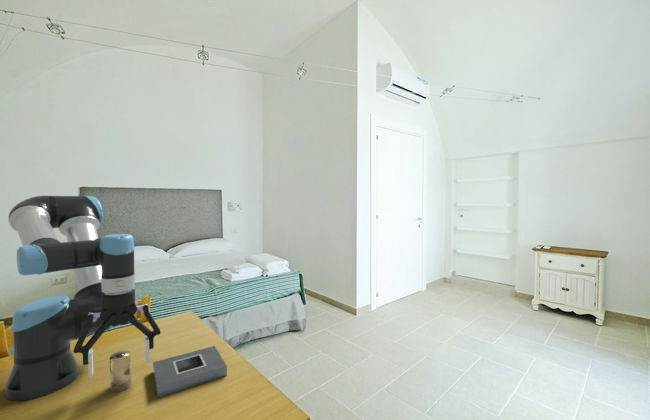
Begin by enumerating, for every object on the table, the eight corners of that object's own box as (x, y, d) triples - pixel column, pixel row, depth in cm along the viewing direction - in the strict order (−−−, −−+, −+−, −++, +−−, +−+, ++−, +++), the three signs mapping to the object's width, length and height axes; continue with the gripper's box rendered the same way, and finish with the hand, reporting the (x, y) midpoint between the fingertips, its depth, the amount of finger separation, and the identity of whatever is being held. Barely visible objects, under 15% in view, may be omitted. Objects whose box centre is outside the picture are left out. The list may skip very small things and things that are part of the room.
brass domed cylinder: (110, 385, 84) (109, 353, 84) (131, 379, 87) (130, 348, 87) (110, 394, 80) (109, 361, 80) (131, 388, 83) (130, 355, 83)
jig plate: (153, 371, 91) (152, 361, 90) (214, 354, 101) (214, 345, 101) (157, 397, 79) (157, 386, 79) (226, 375, 89) (226, 365, 89)
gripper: (57, 303, 72) (60, 390, 73) (170, 287, 86) (171, 360, 87) (62, 295, 79) (64, 374, 80) (167, 280, 92) (168, 349, 93)
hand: (120, 367), depth 83 cm, fingers open, 12 cm apart
